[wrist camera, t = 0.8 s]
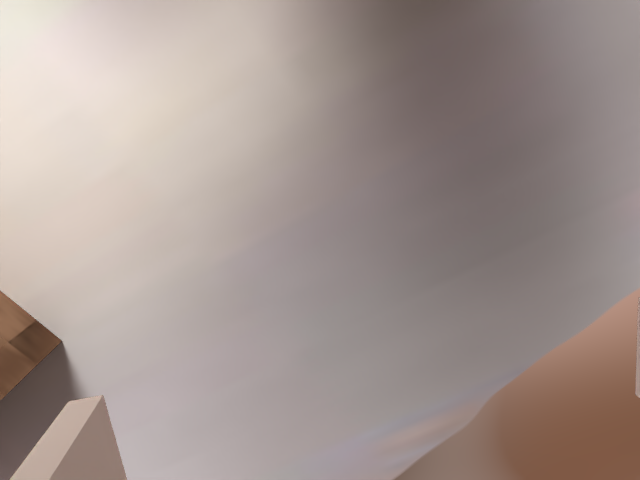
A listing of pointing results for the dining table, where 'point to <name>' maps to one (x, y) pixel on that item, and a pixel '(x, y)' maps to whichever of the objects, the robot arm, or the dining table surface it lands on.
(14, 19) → the dining table surface
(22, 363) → the wooden tray
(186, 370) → the dining table surface
